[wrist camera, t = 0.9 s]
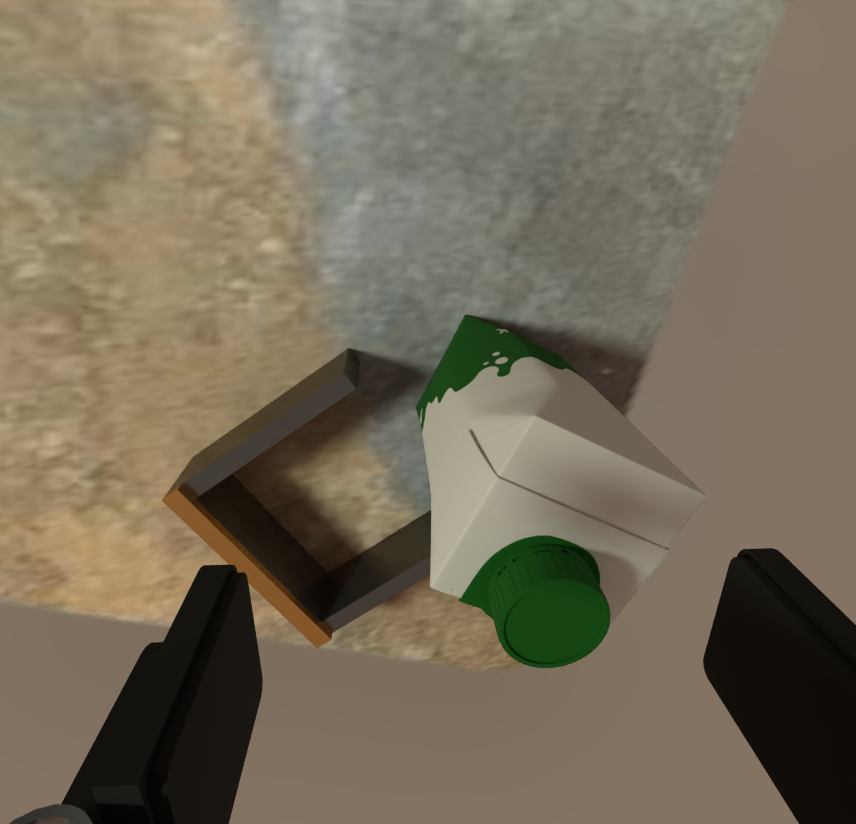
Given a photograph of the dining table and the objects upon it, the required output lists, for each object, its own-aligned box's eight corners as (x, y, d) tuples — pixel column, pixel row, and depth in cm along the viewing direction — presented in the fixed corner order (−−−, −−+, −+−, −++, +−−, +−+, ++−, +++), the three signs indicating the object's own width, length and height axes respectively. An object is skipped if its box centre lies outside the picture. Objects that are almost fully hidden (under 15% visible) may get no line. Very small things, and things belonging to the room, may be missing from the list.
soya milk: (397, 413, 37) (410, 636, 19) (460, 292, 34) (548, 413, 16) (508, 461, 39) (618, 706, 21) (576, 351, 36) (773, 519, 18)
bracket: (348, 348, 35) (342, 375, 30) (468, 503, 40) (481, 550, 35) (192, 457, 37) (161, 500, 32) (325, 591, 42) (317, 648, 37)
